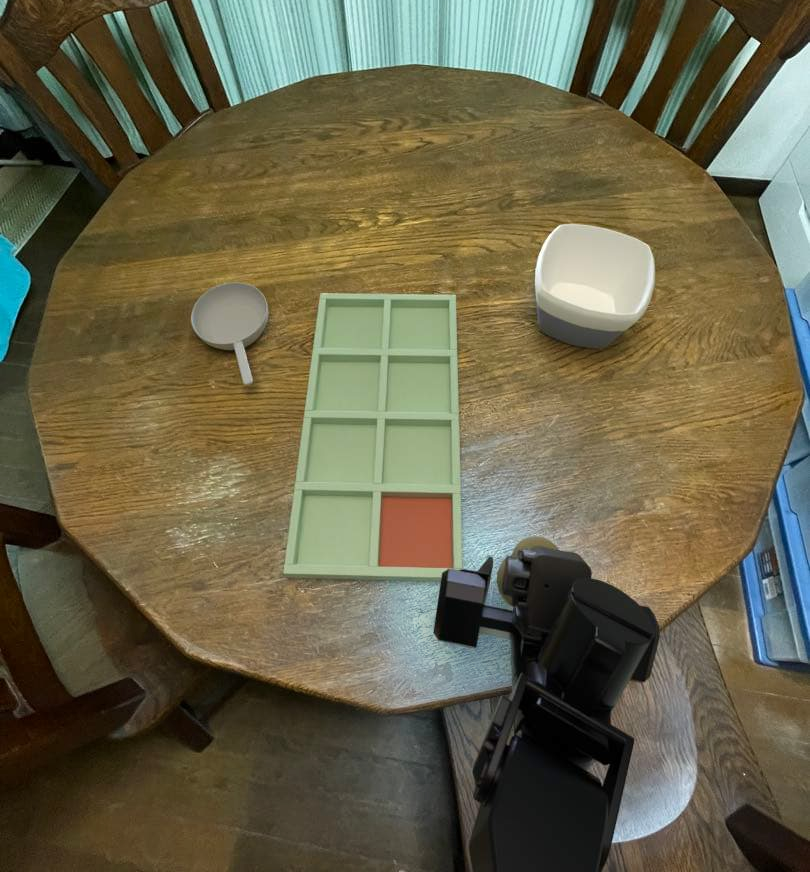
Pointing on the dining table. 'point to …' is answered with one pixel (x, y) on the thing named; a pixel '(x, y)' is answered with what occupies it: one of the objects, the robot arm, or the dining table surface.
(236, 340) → the grey frying pan
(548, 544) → the cork
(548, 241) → the bowl
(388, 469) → the grid
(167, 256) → the dining table surface
